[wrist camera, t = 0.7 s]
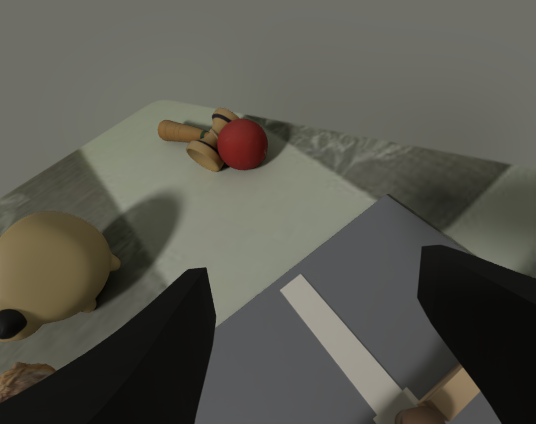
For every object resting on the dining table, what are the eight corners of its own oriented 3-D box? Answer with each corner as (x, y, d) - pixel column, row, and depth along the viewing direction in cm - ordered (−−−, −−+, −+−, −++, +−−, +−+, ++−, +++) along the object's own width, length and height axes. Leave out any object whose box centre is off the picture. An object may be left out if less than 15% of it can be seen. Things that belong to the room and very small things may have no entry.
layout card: (635, 376, 19) (642, 375, 18) (318, 742, 14) (316, 751, 14) (385, 196, 30) (386, 193, 30) (166, 368, 26) (163, 367, 26)
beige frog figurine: (19, 319, 33) (-99, 283, 24) (100, 232, 37) (24, 177, 29) (63, 371, 28) (-64, 350, 20) (150, 266, 33) (77, 211, 24)
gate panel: (433, 423, 19) (453, 423, 15) (414, 402, 20) (430, 397, 16) (548, 307, 21) (595, 280, 17) (527, 292, 22) (567, 263, 18)
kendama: (157, 166, 44) (248, 189, 34) (134, 127, 40) (229, 140, 30) (193, 138, 48) (285, 152, 38) (175, 100, 44) (273, 104, 34)
